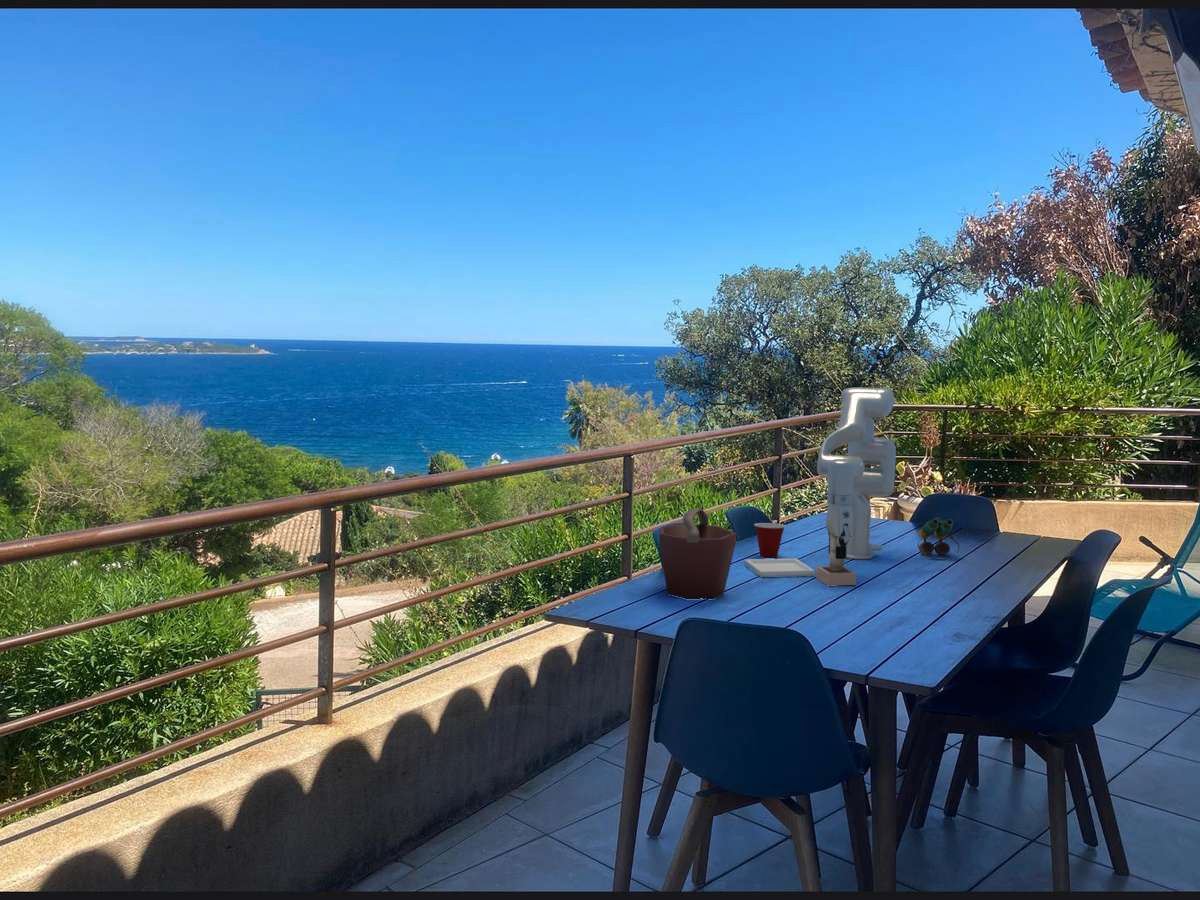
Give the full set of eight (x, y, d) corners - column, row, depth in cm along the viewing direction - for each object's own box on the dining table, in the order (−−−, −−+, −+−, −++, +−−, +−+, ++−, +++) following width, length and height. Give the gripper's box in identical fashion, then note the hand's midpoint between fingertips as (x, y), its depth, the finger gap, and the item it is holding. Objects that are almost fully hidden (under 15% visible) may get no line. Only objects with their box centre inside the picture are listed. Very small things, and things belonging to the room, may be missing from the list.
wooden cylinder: (840, 567, 259) (841, 530, 257) (846, 571, 255) (847, 533, 253) (827, 567, 258) (828, 530, 257) (832, 571, 254) (834, 534, 252)
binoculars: (954, 566, 292) (950, 526, 299) (967, 554, 280) (962, 513, 286) (914, 564, 294) (910, 524, 300) (925, 552, 281) (921, 511, 287)
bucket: (709, 609, 226) (711, 520, 223) (639, 596, 238) (641, 511, 235) (742, 589, 247) (745, 507, 244) (677, 578, 259) (679, 499, 256)
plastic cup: (782, 554, 292) (783, 521, 291) (786, 561, 281) (787, 527, 280) (751, 553, 293) (752, 520, 292) (754, 560, 282) (755, 526, 281)
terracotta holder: (842, 578, 261) (843, 565, 261) (855, 585, 252) (856, 573, 252) (816, 578, 260) (816, 566, 260) (827, 586, 251) (828, 573, 251)
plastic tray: (795, 564, 278) (795, 558, 278) (814, 576, 263) (814, 570, 262) (744, 565, 276) (744, 559, 275) (760, 577, 260) (760, 571, 260)
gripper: (863, 504, 246) (860, 563, 248) (839, 493, 262) (837, 549, 265) (839, 504, 245) (837, 564, 247) (817, 494, 261) (814, 550, 264)
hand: (837, 555), depth 256 cm, fingers closed on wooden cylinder, 4 cm apart
